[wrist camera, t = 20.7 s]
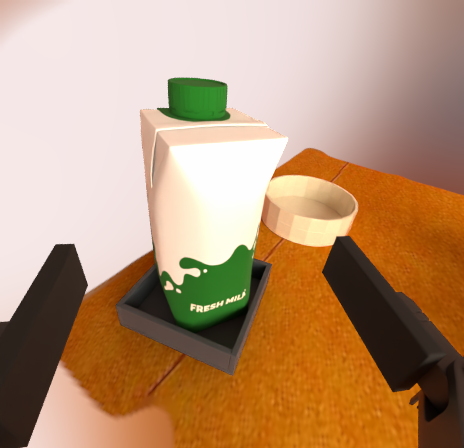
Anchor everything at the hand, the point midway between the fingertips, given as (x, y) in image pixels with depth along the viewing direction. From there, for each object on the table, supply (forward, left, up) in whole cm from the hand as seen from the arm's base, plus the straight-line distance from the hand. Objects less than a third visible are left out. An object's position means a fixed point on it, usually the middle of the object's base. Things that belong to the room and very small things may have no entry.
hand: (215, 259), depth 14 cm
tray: (-4, +7, -14) cm, 16 cm away
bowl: (+4, +29, -14) cm, 32 cm away
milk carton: (-4, +7, -13) cm, 16 cm away
